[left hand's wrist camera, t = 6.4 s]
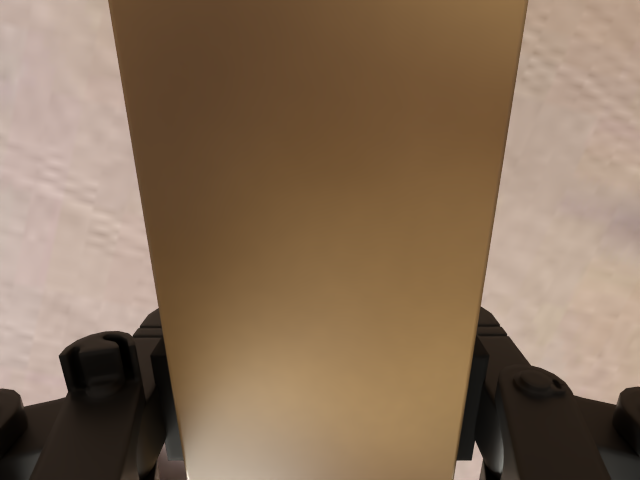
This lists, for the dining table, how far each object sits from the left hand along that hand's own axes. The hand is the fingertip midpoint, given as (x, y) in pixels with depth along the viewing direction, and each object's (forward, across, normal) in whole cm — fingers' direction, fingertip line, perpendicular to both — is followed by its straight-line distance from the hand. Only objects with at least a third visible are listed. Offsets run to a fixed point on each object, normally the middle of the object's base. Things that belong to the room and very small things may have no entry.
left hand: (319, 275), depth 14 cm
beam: (0, 0, -18) cm, 18 cm away
